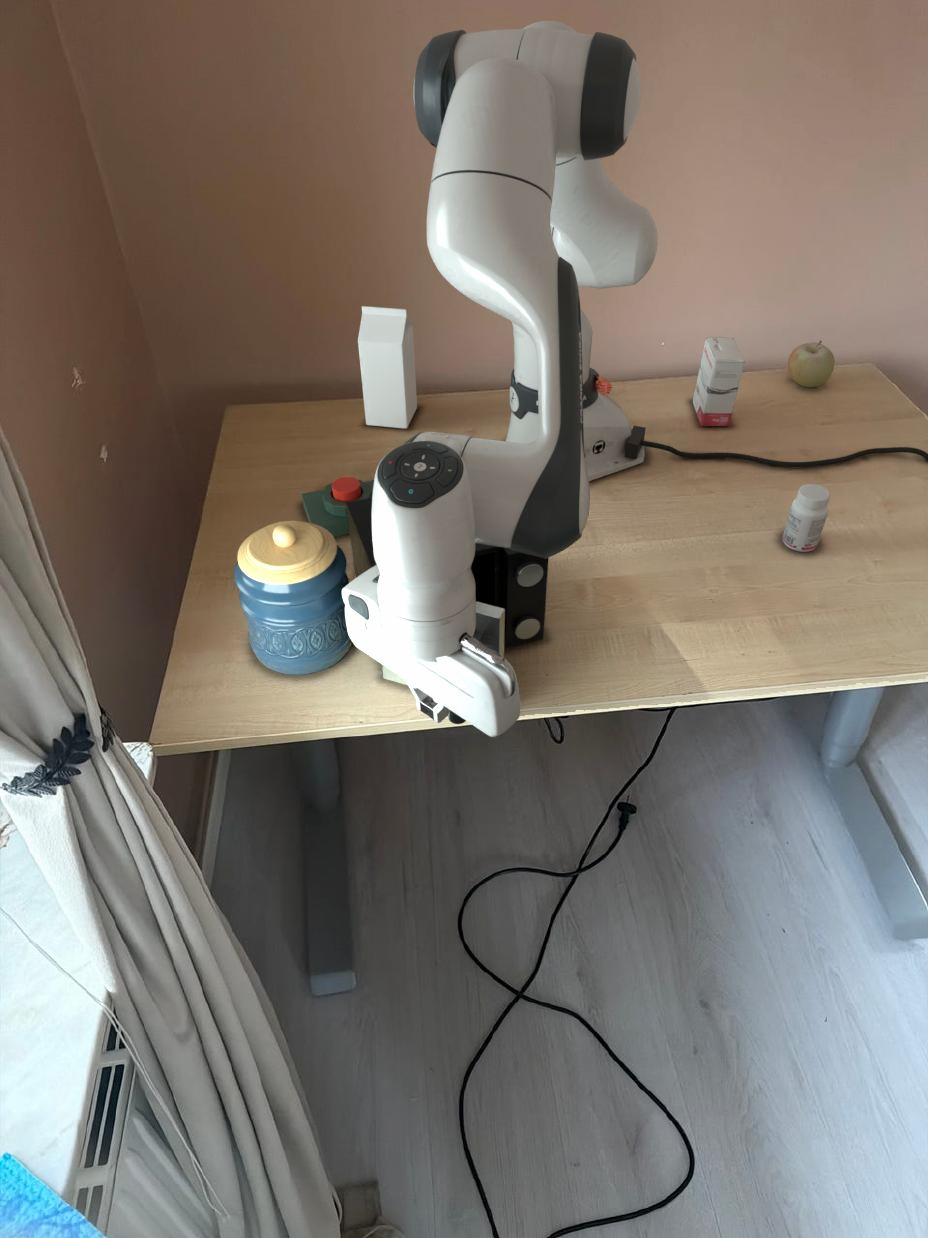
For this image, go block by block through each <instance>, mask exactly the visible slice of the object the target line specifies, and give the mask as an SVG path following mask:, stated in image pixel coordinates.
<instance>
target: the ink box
mask: <svg viewBox="0 0 928 1238" xmlns="http://www.w3.org/2000/svg"><path fill="white" fill-rule="evenodd" d="M702 350H703V351H702V354H701V355H702V356H701V360H700V365H699V370H698V374H697V380H696V384H695V388H694V393H693V397H692V404H693V407H694V410H695V413H696V416H697V419H698V421H699V424H700V426H701V427H729V426H730V423H731V419H732V416H733V411H734V407H735V403H736V399H737V395H738V391H739V387H740V383H741V379H742V375H743V371H744V367H745V363H746V360H745V359H744V356H743V354H742V351H741V350H740V348H739V345H738V343H737V341H736V339H735V337H725V336H724V337H723V336H708V337H706V338H705V340H704V346H703V349H702Z"/></svg>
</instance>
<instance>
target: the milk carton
mask: <svg viewBox="0 0 928 1238" xmlns="http://www.w3.org/2000/svg"><path fill="white" fill-rule="evenodd" d="M359 324H360V325H359V330H358V336H357V346H358V355H359V356H358V357H359V365H360V375H361V386H362V396H363V397H362V398H363V406H364V416H365V417H364V418H365V425H367V426H374V427H385V428H393V429H396V428H397V429H408V428H409V425H410V424H411V421H412V419H413V417H414V415H415V413H416V410H417V408H418V397H417V395H418V394H417V377H416V359H415V358H416V357H415V339H414V324H413V323H412V322H411V320H410V319H409V317H408V316H407V308H395V307H382V306H381V307H380V306H369V305H368V306H366V305H362V306H361V318H360V323H359Z"/></svg>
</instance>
